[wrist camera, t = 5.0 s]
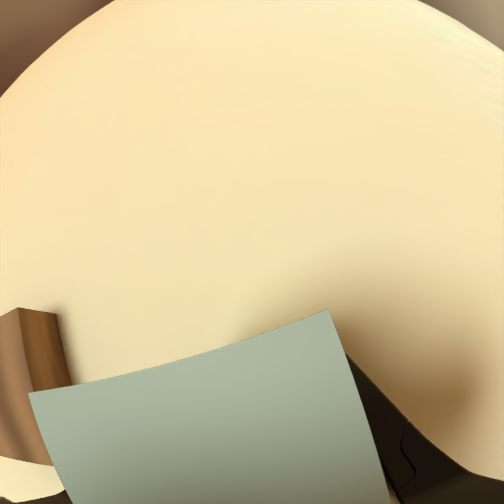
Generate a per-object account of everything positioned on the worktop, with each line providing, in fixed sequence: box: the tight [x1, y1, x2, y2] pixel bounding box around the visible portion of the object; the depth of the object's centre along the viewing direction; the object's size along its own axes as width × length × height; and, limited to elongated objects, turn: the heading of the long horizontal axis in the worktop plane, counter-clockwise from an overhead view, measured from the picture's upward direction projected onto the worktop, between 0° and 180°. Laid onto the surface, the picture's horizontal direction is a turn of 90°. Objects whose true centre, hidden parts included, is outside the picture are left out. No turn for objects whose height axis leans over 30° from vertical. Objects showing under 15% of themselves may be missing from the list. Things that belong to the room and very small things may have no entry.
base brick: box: [0, 307, 71, 466], centre depth 15 cm, size 11×11×4 cm
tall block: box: [28, 309, 391, 504], centre depth 9 cm, size 5×5×13 cm
